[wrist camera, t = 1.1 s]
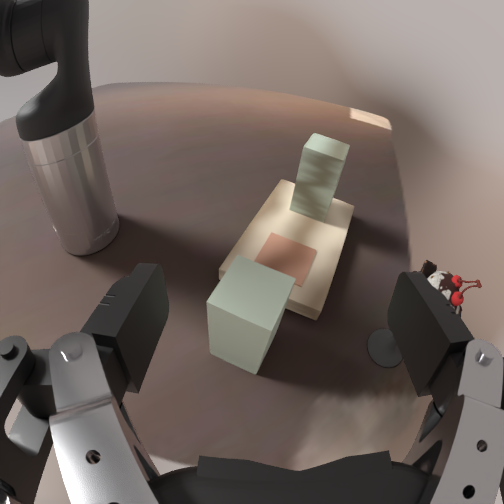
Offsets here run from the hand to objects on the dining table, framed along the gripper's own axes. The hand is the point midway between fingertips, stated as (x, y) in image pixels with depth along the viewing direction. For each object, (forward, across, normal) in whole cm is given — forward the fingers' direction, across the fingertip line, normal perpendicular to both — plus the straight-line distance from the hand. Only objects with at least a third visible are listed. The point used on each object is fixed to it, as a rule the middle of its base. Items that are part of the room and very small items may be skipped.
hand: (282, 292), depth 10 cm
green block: (+14, +2, +16) cm, 21 cm away
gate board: (+28, -4, +11) cm, 30 cm away
